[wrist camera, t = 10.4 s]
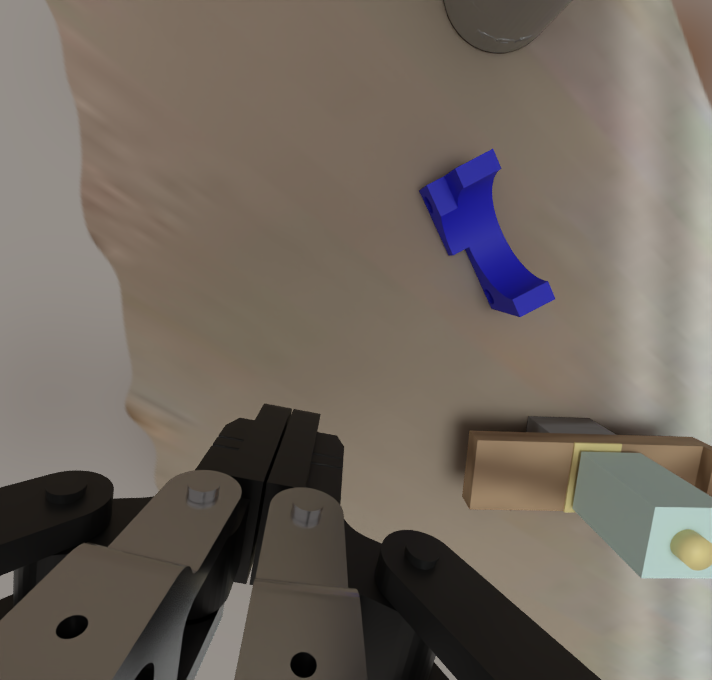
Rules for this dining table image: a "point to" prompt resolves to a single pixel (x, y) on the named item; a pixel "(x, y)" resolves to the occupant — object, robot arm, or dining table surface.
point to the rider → (646, 514)
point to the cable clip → (483, 236)
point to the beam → (563, 462)
